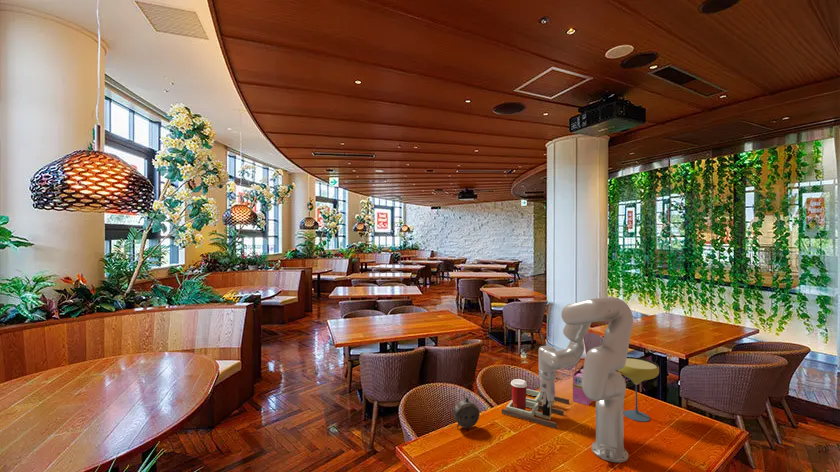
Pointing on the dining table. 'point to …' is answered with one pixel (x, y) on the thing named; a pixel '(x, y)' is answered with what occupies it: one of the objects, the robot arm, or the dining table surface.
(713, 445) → the dining table surface
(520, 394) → the paper cup
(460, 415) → the alarm clock
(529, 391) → the square frame with handle
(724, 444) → the dining table surface
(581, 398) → the gum box
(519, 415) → the lane rails
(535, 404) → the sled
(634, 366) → the cocktail glass
